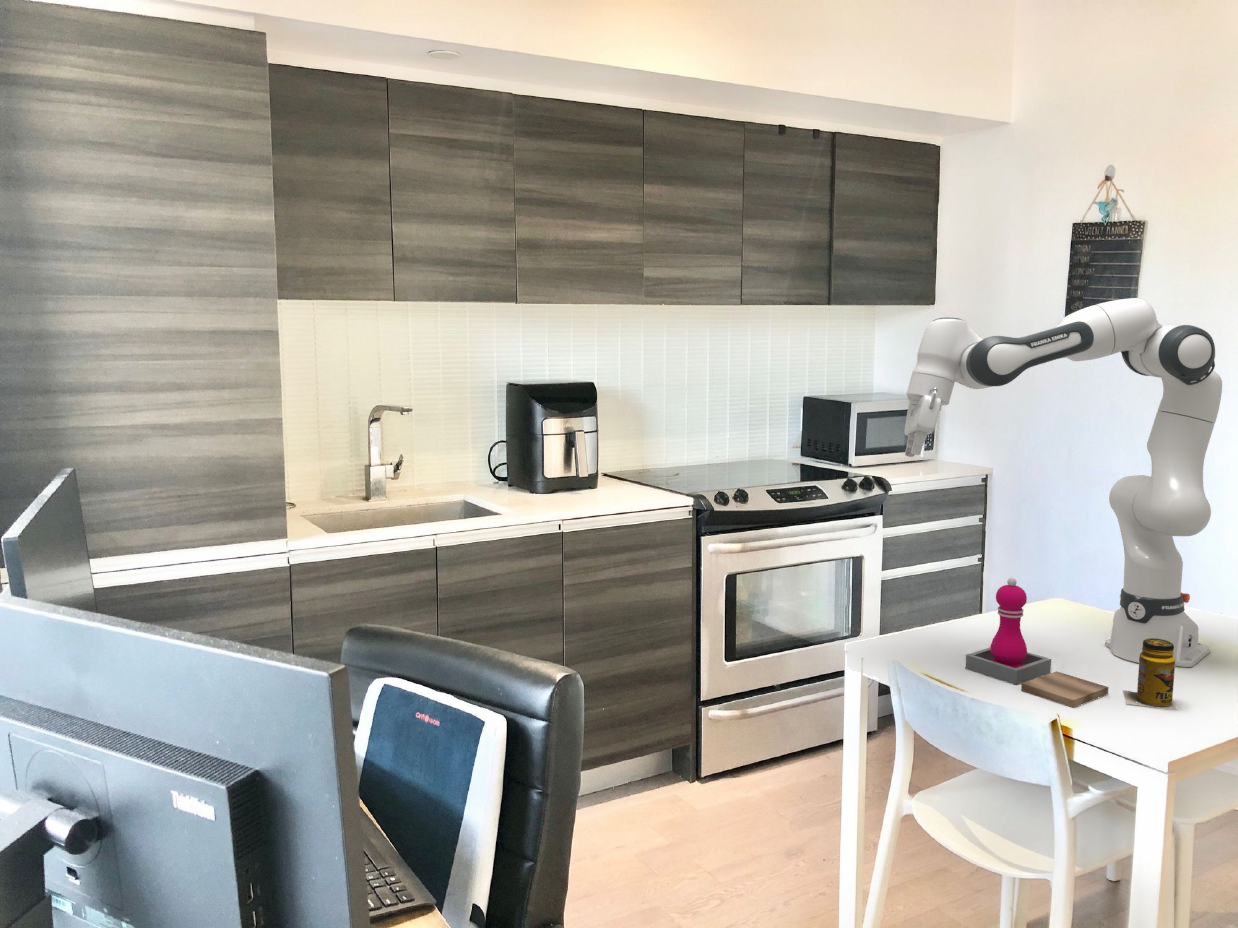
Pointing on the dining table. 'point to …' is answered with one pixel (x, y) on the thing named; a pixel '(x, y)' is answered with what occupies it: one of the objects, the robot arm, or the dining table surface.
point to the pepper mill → (1009, 626)
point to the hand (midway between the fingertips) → (911, 455)
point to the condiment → (1154, 676)
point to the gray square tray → (1029, 671)
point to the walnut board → (1064, 689)
